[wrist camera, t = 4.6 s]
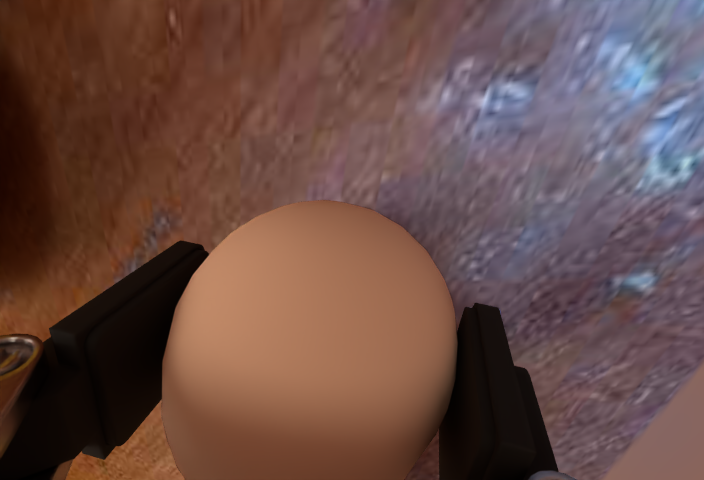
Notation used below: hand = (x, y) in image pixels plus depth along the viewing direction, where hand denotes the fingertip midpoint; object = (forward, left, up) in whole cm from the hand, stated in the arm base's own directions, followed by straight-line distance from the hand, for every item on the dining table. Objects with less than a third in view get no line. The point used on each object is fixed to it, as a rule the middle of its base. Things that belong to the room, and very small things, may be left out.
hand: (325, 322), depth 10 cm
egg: (0, 0, -3) cm, 3 cm away
